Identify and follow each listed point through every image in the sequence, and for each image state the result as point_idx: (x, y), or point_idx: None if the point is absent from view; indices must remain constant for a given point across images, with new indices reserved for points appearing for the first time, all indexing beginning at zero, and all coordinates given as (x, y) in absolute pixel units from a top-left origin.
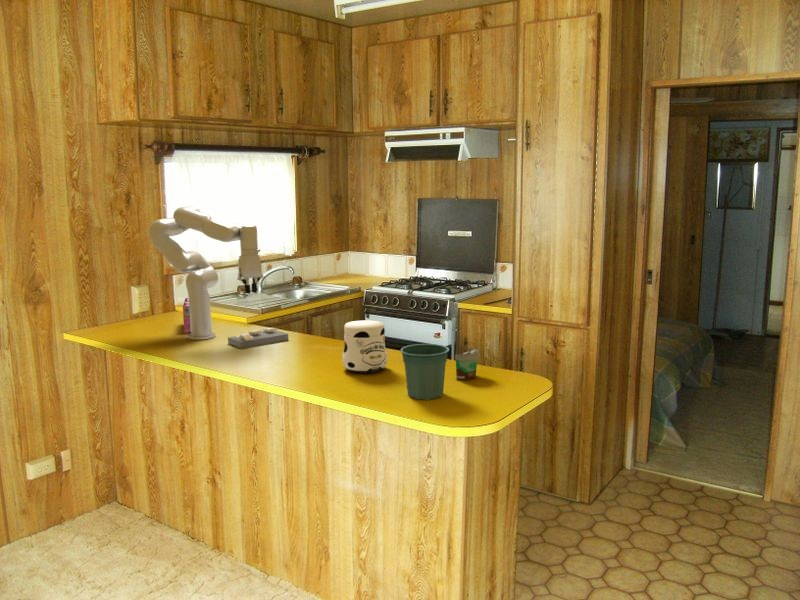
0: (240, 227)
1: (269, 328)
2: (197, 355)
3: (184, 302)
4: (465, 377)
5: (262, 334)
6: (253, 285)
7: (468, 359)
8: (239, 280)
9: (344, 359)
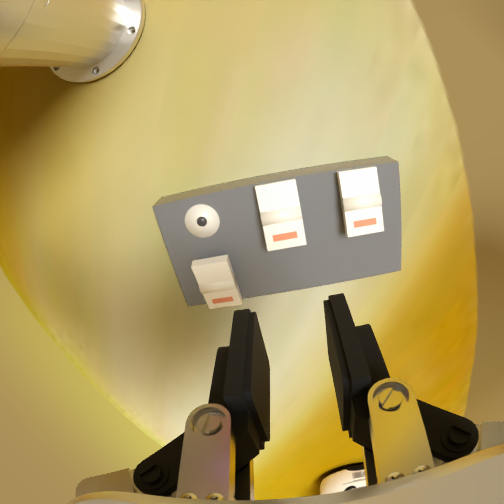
0: None
1: (361, 208)
2: (68, 297)
3: None
4: None
5: (310, 227)
6: (340, 400)
7: None
8: (113, 482)
9: (320, 492)
